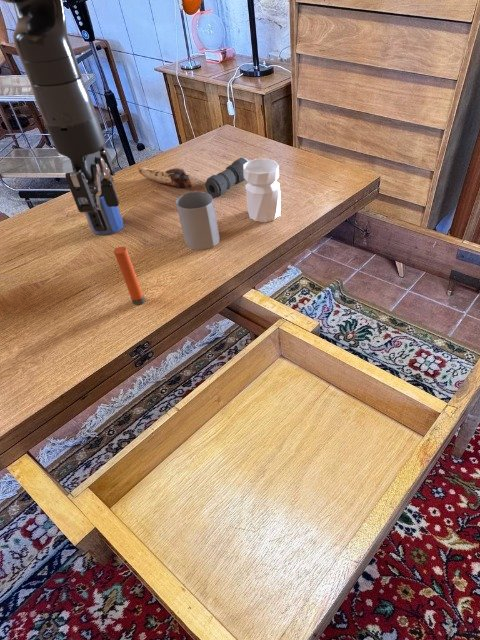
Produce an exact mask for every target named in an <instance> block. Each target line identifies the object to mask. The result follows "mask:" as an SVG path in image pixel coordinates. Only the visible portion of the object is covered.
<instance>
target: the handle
mask: <svg viewBox="0 0 480 640" xmlns="http://www.w3.org/2000/svg"><path fill="white" fill-rule="evenodd" d="M113 254H114V257H115V259H116V262H117V264H118V267H119V269H120V272H121V275H122V277H123V280H124V282H125V285H126V288H127V291H128V293H129V295H130V300H131V302H132V304H133V305H134V306H135V305H136V306H139V305H143V304H144V303H145V302H146V298H145V295H144V294H143V291H142V288H141V286H140V283H139V280H138V277H137V274H136V272H135V268H134V266H133V263H132V260H131V258H130V255H129V252H128V249H127V247H126V246H118V247H116V248H114V249H113Z"/></svg>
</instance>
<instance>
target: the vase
mask: <svg viewBox="0 0 480 640" xmlns="http://www.w3.org/2000/svg"><path fill="white" fill-rule="evenodd" d="M243 173H244V179H245V180H244V181H245V182H247V183H246V184H245V185H244V188H245V193H246V208H247V209H246V210H247V214H248V217H249V219H250V218H251V219H250V220H252V219H253V220H252V221H254V222H256V221H260V222H259V223H268V221H269V222H272V221H271V220H274V221H276V220H277V219H278V218H277V217H279V216H280V217H281V213H282V212H281V211H282V209H281V208H282V207H281V202H282V201H281V200H282V199H281V198H282V197H281V186H280V185H281V184H280V183H279V181H277V180H278V179H279V178H280V165H279V163H278V162H277V161H276V160H274V159H270V158H255V159H250V160H248V162H246V163H245V164H244V165H243ZM280 217H279V218H280ZM276 218H277V219H276ZM275 219H276V220H275Z"/></svg>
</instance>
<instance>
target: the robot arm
mask: <svg viewBox="0 0 480 640" xmlns="http://www.w3.org/2000/svg"><path fill="white" fill-rule="evenodd" d="M1 1H2V2H5V3H10V4H13V8H14V11H15V15H16V19H17V21H16V22H17V23H16V26H15V28H14V31H13V34H12V37H13V38H12V39H13V43H14V47H15V50H16V52H17V55H18V57H19V60H20V62H21V64H22V67H23V70H24V71H25V74H26V77H27V79H28V81H29V84H30V87H31V89H32V92H33V96H34V100H35V102H36V105H37V107H38V110H39V112H40V115H41V117H42V119H43V122H44V125H45V127H46V129H47V132H48V134H49V136H50V139H51V141H52V144H53V146H54V148H55V151H56V152H57V153H58V154H59V155H61V156H64V157H66V158H67V159H69V160H70V164H71V168H72V172H65V179H66V182H67V185H68V187H69V190H70V193H71V194H72V195H71V196H72V197H73V200H74V203H75V205H76V207H77V210H78V212H79V213H84V212H88V214H89V217H90V219H91V222H92V224H93V227H94V229H95V230H96V231H107V229H108V224H107V222H106V219H105V217H104V214H103V211H102V209H101V206H100V199H99V196H100V195H101V193H102V194H103V196H104V199H105V202H106V204H107V206H109V207H117V206H118V207H119V205H120V200H119V197H118V194H117V192H116V191H117V190H116V189H115V185H114V183H115V180H114V177H113V176H116V171H115V168H114V166H113V163H112V159H111V157H110V154H109V152H108V149H107V145H106V139H105V136H104V133H103V131H102V130H103V129H102V127H101V124H100V120H99V117H98V115H97V111H96V109H95V106H94V103H93V100H92V97H91V94H90V92H89V89H88V87H87V85H86V83H85V80H84V79H83V75H82V72H81V69H80V66H79V63H78V61H77V58H76V55H75V52H74V49H73V46H72V44H71V41H70V38H69V34H68V28H67V20H66V13H65V8H64V7H65V6H64V2H63V0H1ZM101 184H102V185H101ZM89 187H94V188H93V189H89ZM101 191H102V192H101ZM92 195H93V197H92ZM80 198H82V201H81V199H80ZM93 198H94V200H93Z"/></svg>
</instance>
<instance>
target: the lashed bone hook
mask: <svg viewBox="0 0 480 640" xmlns="http://www.w3.org/2000/svg"><path fill="white" fill-rule="evenodd" d="M138 173H139V174H140V175H141V176H143V177H145V178H146V179H147V180H149V181H150V180H151V181H154V182H156V183H159V184H163V185H168V186H172V187H177V188H191V187H193V184H192V181H191V179H190V177H189V176H190V175H189V174H187V173H186V170H185V169H184V168H179V167H177V168H175V167H174V168H170V169H168V170H165V171H160V170H157V169H153V168H149V167H144V166H140V167H138Z"/></svg>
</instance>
